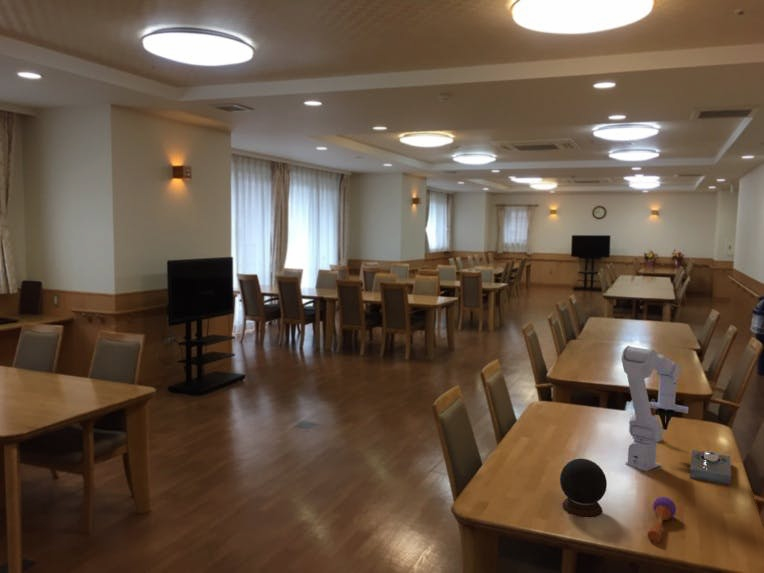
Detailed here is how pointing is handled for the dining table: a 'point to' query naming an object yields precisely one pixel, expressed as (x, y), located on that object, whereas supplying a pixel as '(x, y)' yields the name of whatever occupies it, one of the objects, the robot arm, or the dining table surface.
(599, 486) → the black ball on stand
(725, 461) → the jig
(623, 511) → the dining table surface
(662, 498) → the kendama
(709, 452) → the bushing
